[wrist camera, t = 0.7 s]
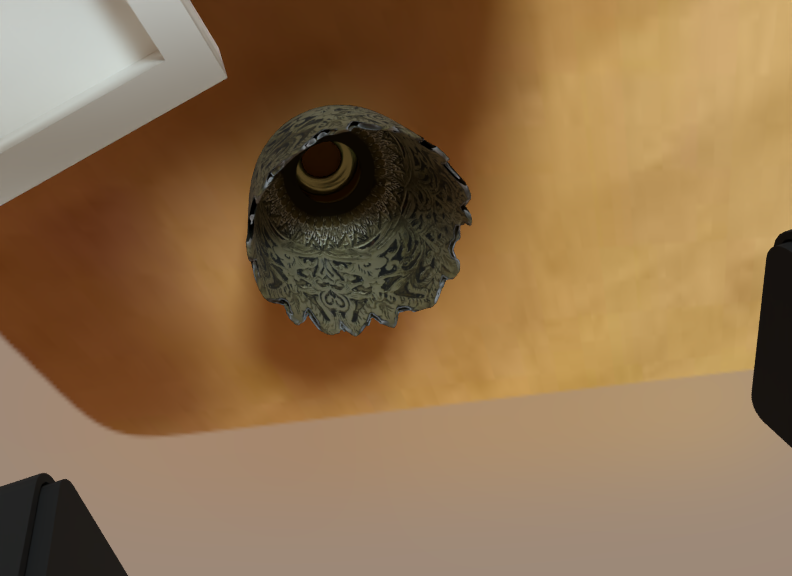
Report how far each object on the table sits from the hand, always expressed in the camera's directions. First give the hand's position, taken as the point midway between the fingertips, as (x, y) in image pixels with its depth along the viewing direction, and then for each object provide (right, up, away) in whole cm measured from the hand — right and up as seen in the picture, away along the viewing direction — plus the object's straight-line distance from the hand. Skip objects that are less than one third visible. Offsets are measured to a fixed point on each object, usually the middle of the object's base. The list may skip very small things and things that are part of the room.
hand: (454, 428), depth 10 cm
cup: (-4, +7, +21) cm, 22 cm away
